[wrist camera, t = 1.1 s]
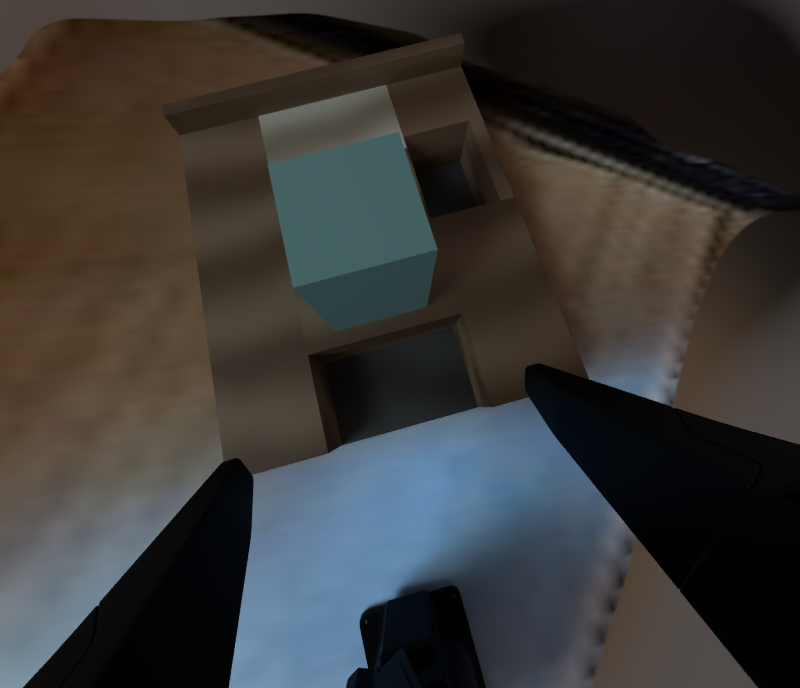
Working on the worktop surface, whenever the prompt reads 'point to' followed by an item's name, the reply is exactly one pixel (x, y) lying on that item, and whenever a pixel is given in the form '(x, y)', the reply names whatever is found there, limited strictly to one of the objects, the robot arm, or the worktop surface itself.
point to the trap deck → (386, 338)
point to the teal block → (355, 231)
